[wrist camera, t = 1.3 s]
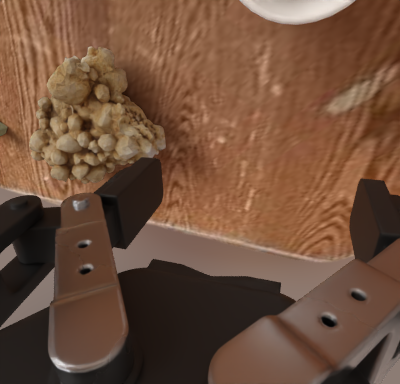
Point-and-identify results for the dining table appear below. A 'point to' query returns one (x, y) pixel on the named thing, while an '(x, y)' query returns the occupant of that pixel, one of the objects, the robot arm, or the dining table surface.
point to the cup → (296, 9)
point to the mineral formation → (91, 121)
